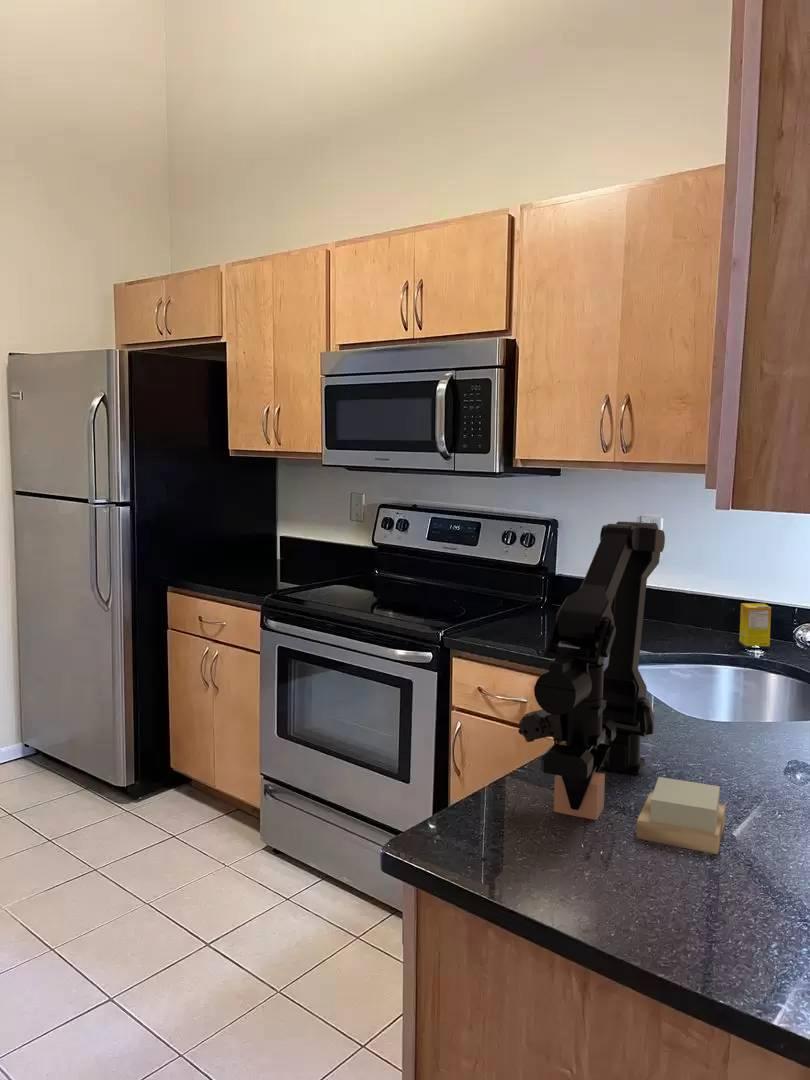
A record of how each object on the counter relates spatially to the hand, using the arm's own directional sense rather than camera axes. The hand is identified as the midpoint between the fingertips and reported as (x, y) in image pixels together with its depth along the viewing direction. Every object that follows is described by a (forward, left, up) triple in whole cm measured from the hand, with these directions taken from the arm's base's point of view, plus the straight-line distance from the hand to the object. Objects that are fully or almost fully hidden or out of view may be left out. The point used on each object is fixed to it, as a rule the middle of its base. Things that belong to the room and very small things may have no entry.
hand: (579, 802), depth 116 cm
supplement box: (-115, +16, -1) cm, 116 cm away
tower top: (0, +14, +1) cm, 14 cm away
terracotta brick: (0, 0, -1) cm, 1 cm away
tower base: (0, +14, -2) cm, 14 cm away
